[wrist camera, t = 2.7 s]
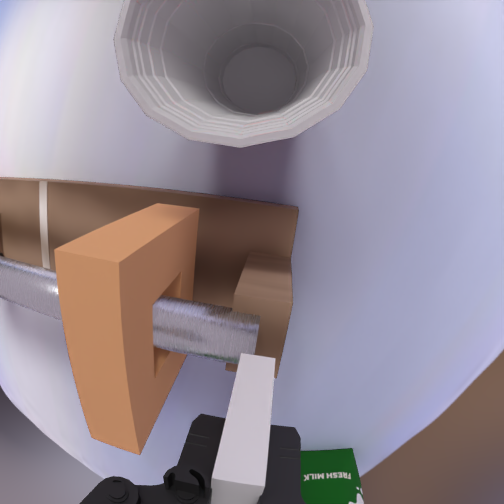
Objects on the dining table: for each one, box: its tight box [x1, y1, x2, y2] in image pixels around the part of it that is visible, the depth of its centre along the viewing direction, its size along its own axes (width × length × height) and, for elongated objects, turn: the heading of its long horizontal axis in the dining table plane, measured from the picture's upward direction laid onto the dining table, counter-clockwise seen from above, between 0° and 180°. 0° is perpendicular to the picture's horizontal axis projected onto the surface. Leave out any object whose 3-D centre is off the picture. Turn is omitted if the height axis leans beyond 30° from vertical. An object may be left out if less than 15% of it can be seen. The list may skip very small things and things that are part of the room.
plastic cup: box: [114, 0, 374, 148], centre depth 15 cm, size 11×11×12 cm
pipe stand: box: [0, 177, 299, 378], centre depth 22 cm, size 12×32×9 cm, turn 83°
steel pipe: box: [0, 253, 261, 364], centre depth 18 cm, size 4×29×4 cm, turn 83°
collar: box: [54, 203, 200, 455], centre depth 17 cm, size 11×3×11 cm, turn 173°
